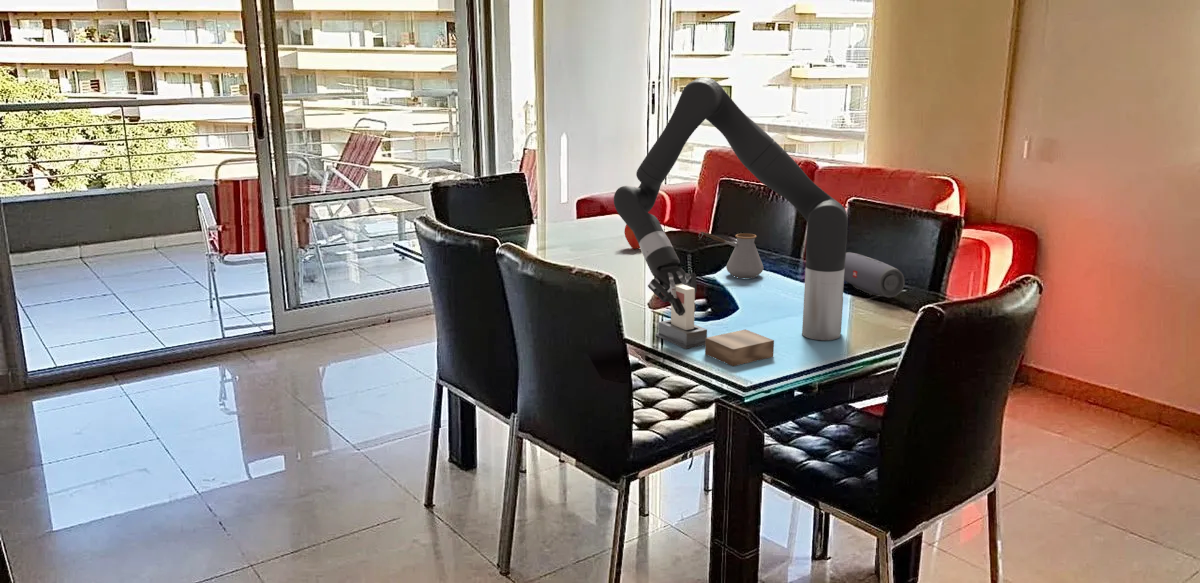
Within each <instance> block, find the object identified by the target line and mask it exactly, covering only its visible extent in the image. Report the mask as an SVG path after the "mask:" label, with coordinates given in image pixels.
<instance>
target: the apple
mask: <svg viewBox="0 0 1200 583" xmlns="http://www.w3.org/2000/svg"><path fill="white" fill-rule="evenodd" d="M624 237H625V240H626V242H627V243H628V244H629V246H630V248H631V249H633V250H636V249H638V250H639V249H641V248H640V246H639V243H638V241H637V239H636V237H635V235H634V233H633V231H632V230H631V229H630V228H629V226H628V225H627V224H626V223H625V226H624Z"/></svg>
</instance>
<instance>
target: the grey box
mask: <svg viewBox="0 0 1200 583" xmlns="http://www.w3.org/2000/svg"><path fill="white" fill-rule="evenodd" d="M655 336H656V337H657V338H660V339H662V340H664V341H665V342H666V341H667V342H668V343H671V344H673V345H674V346H677V347H680V348H683V349H684V350H688V349H692V348H697V347H702V345H703V346H705V339H706V338H707V337H708V329H706V328H704V327H701V326H700V325H697V324H694V329H689V330H684V329H682V328H679V327H677V326H674V325H672V324H671V319H668V320H667V319H666V320H663V321H658V332H656V333H655Z"/></svg>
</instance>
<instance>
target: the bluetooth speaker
mask: <svg viewBox="0 0 1200 583" xmlns="http://www.w3.org/2000/svg"><path fill="white" fill-rule="evenodd" d="M905 280H906V279H905V276H904V274H903V272H902V271H901V270H899V269H898V268H897V267H894V266H892V265H890V264H888V263H885V262H883V261H880V260H878V259H876V258H872V257H868V256H867V255H863V254H859V253H856V252H850V251H849V252H847V251H846V258H845V270H844V282H846V283H848V284H850V285H852V286H853V288H854V287H855V288H857V289H860V290H862V291H864V292H867V293H869V294H873V295H880V296H879V297H885V298H895V297H897V296H899V294H900V293H902V291H903V290H904V287H905V282H906V281H905ZM855 288H854V289H855Z"/></svg>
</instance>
